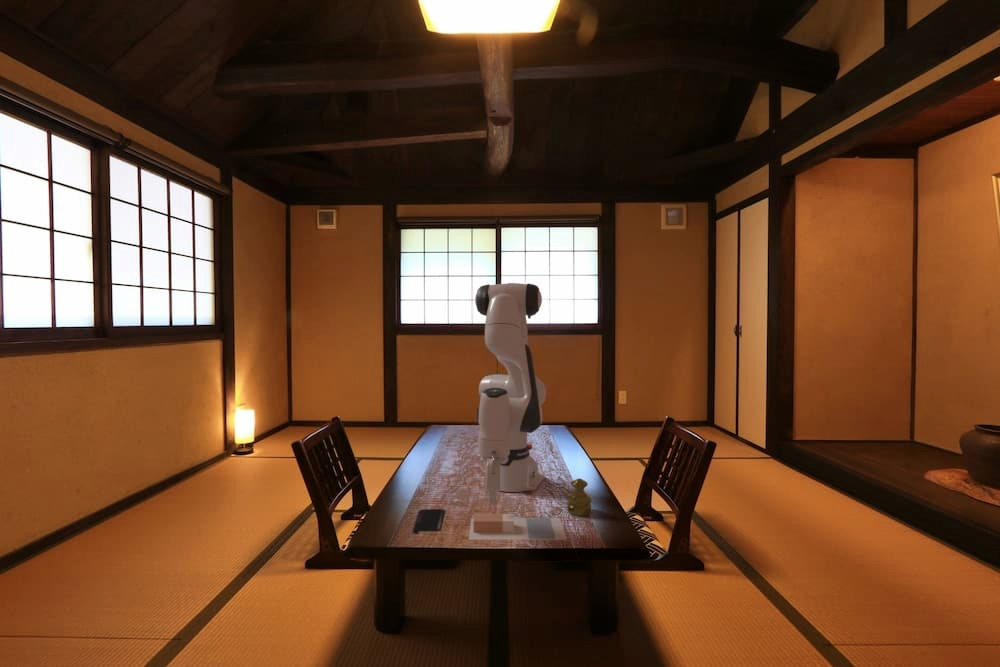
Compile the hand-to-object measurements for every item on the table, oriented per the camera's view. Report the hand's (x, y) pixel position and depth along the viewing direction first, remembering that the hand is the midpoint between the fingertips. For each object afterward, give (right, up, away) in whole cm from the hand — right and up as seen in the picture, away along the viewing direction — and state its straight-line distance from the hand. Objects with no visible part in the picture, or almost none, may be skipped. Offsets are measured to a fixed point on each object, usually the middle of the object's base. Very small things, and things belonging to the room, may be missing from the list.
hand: (492, 497), depth 136 cm
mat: (+7, -10, +1) cm, 12 cm away
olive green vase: (+26, -9, +14) cm, 31 cm away
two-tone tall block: (0, -9, +1) cm, 9 cm away
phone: (-18, -10, +6) cm, 22 cm away
